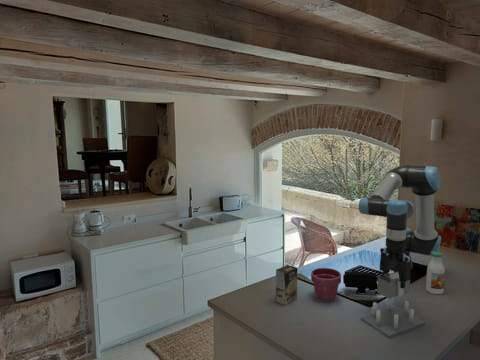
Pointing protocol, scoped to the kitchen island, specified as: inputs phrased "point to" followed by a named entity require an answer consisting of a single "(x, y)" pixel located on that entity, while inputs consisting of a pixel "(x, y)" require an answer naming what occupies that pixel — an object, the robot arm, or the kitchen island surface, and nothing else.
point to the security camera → (361, 281)
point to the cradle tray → (392, 319)
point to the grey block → (390, 285)
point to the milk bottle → (435, 274)
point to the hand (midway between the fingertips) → (393, 291)
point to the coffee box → (286, 284)
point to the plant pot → (326, 283)
